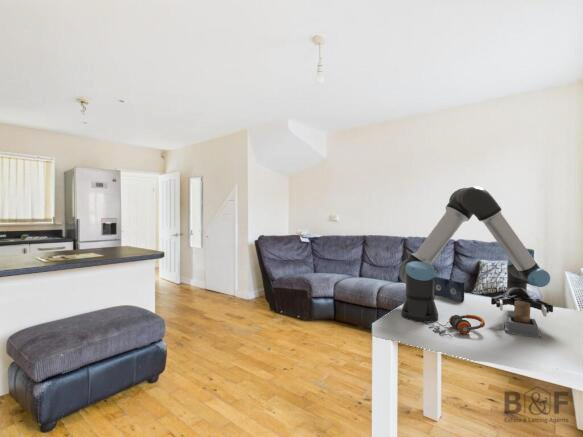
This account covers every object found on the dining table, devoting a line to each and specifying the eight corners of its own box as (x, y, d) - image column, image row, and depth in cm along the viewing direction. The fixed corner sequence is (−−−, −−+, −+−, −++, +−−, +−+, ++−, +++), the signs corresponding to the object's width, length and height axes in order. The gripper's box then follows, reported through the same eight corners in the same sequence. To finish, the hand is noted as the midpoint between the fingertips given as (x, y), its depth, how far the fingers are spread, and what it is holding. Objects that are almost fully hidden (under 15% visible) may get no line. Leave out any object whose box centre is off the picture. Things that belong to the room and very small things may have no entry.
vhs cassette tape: (464, 301, 166) (464, 282, 165) (460, 302, 164) (460, 283, 164) (434, 293, 182) (434, 275, 182) (430, 294, 181) (430, 276, 181)
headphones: (421, 316, 135) (468, 305, 135) (423, 329, 135) (470, 318, 135) (439, 332, 118) (493, 320, 118) (442, 346, 118) (496, 333, 118)
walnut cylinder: (514, 328, 125) (515, 303, 125) (513, 324, 130) (514, 300, 129) (530, 331, 123) (531, 305, 122) (528, 327, 127) (529, 301, 127)
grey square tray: (505, 332, 124) (505, 322, 124) (504, 323, 134) (504, 314, 134) (541, 338, 119) (541, 327, 118) (537, 328, 128) (537, 318, 128)
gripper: (554, 310, 135) (564, 325, 117) (484, 301, 148) (484, 314, 130) (554, 292, 135) (565, 305, 117) (485, 284, 148) (484, 295, 129)
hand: (522, 310), depth 123 cm, fingers open, 13 cm apart
